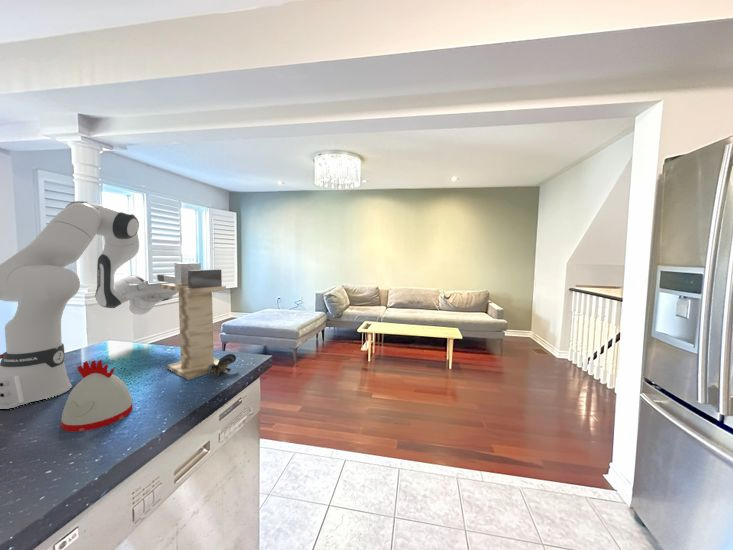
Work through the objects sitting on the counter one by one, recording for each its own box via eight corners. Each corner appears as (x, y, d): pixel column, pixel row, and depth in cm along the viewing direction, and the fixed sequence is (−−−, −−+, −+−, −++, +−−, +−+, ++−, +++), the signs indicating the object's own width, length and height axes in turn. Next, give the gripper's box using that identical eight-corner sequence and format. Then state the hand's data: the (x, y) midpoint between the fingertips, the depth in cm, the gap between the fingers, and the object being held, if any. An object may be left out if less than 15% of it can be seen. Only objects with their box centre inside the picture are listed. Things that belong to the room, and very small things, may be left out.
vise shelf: (160, 365, 114) (156, 268, 111) (198, 355, 125) (195, 267, 123) (190, 381, 100) (187, 271, 97) (230, 368, 112) (228, 269, 109)
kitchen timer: (91, 404, 85) (88, 352, 84) (144, 402, 86) (141, 351, 85) (45, 433, 71) (40, 372, 70) (108, 430, 73) (104, 370, 72)
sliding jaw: (151, 281, 123) (150, 261, 123) (170, 280, 129) (169, 261, 128) (181, 285, 108) (180, 263, 108) (201, 284, 114) (200, 263, 113)
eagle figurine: (232, 375, 103) (241, 361, 112) (218, 359, 101) (229, 346, 110) (214, 386, 104) (225, 371, 112) (200, 371, 102) (212, 357, 110)
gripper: (118, 291, 127) (127, 276, 120) (171, 286, 144) (182, 273, 136) (122, 304, 126) (131, 291, 118) (175, 298, 143) (186, 286, 135)
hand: (159, 281), depth 128 cm, fingers open, 8 cm apart
